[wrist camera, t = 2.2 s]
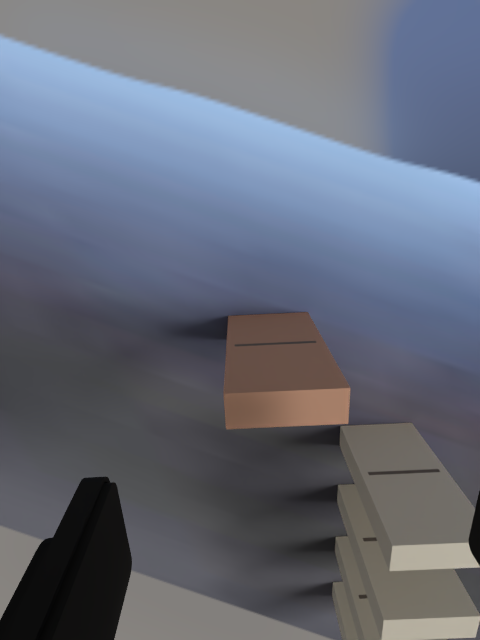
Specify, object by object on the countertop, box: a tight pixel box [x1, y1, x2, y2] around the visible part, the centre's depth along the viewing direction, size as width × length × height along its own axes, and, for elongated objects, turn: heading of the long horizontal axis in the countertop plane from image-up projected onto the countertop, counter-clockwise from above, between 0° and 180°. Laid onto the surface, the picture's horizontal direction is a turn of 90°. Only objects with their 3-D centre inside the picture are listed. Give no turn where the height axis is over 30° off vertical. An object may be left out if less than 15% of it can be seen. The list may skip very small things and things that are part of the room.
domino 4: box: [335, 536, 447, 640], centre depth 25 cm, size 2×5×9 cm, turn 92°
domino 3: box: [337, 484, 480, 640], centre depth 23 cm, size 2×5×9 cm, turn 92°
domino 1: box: [224, 312, 350, 429], centre depth 19 cm, size 2×5×9 cm, turn 93°
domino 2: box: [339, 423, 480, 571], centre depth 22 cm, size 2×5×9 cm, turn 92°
